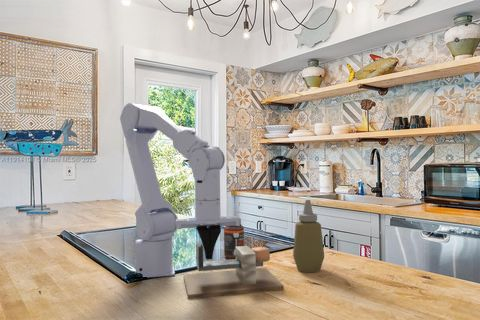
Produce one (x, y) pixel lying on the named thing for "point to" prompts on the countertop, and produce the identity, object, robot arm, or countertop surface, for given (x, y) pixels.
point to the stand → (233, 278)
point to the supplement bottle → (233, 239)
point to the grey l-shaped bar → (216, 264)
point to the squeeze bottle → (308, 241)
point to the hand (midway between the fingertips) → (208, 258)
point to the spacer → (261, 254)
